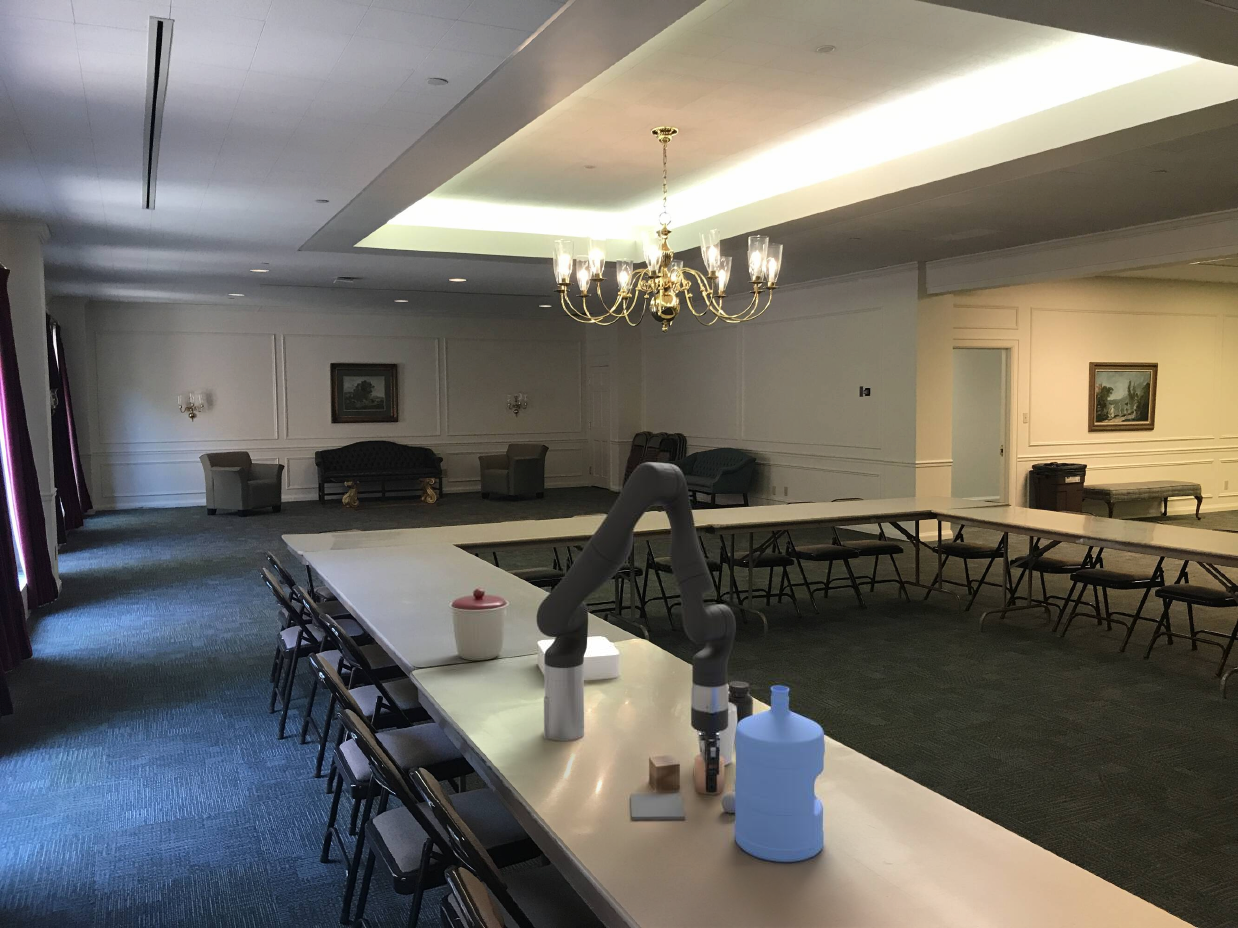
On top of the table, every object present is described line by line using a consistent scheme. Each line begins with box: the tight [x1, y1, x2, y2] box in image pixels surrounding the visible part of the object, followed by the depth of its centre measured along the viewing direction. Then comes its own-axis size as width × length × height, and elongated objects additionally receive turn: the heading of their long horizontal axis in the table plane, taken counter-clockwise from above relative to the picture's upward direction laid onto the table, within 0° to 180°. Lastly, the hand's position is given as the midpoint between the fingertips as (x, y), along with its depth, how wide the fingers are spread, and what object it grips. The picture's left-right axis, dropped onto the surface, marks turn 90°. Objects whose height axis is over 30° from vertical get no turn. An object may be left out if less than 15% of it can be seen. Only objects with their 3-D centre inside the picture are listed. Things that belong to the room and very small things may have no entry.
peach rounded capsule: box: [693, 753, 725, 795], centre depth 185 cm, size 6×6×6 cm
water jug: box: [734, 685, 826, 863], centre depth 161 cm, size 16×16×28 cm
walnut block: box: [648, 754, 681, 791], centre depth 187 cm, size 5×5×5 cm
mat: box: [630, 792, 686, 821], centre depth 176 cm, size 10×10×1 cm
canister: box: [448, 588, 509, 661], centre depth 280 cm, size 18×18×21 cm
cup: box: [696, 702, 737, 766], centre depth 199 cm, size 9×9×12 cm
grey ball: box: [720, 792, 736, 814], centre depth 174 cm, size 4×4×4 cm
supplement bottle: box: [728, 680, 754, 735], centre depth 215 cm, size 7×7×12 cm
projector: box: [537, 635, 620, 681], centre depth 267 cm, size 21×22×7 cm
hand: (709, 784), depth 185 cm, fingers closed on peach rounded capsule, 6 cm apart
